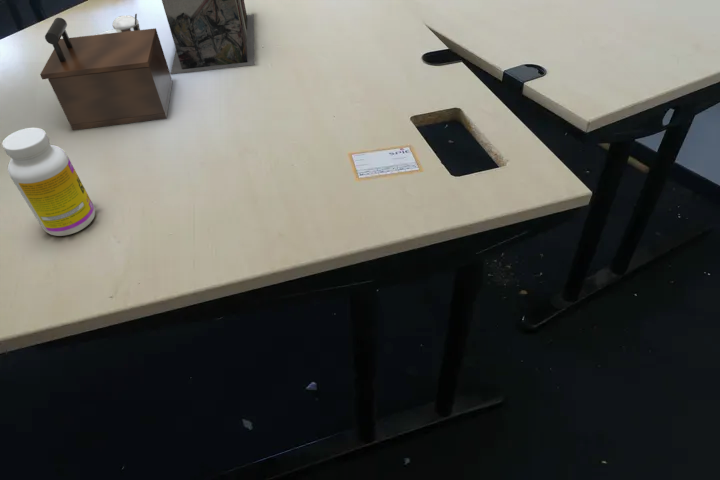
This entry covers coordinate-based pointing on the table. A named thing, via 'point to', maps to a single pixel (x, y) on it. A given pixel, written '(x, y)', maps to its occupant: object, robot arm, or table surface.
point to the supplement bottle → (48, 182)
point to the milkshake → (126, 24)
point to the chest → (116, 94)
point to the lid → (96, 51)
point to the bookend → (210, 34)
